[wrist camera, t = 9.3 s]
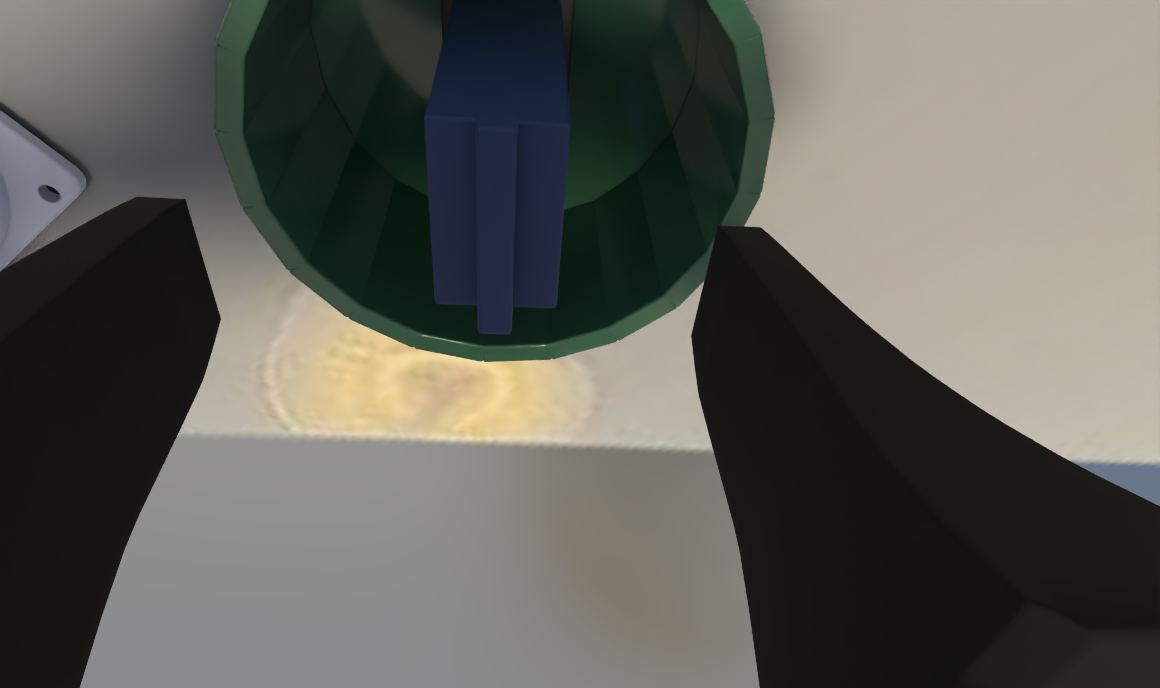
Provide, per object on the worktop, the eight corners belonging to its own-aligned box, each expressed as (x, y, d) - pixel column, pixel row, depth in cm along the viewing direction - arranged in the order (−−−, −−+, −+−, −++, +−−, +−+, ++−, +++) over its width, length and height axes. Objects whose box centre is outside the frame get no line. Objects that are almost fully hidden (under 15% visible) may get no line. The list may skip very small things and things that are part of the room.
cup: (488, 276, 23) (477, 422, 19) (204, 3, 17) (90, 116, 13) (785, 82, 19) (859, 205, 15) (543, -343, 14) (547, -349, 9)
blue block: (562, 133, 19) (573, 338, 13) (452, 126, 19) (413, 333, 13) (573, -30, 17) (594, 133, 11) (446, -40, 17) (396, 123, 11)
